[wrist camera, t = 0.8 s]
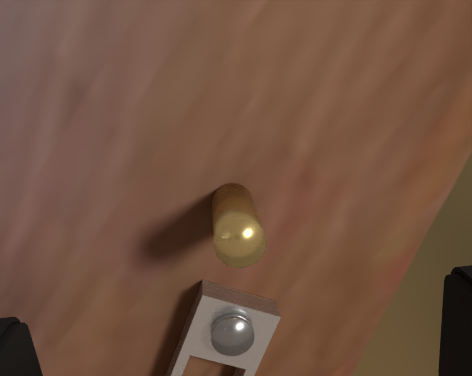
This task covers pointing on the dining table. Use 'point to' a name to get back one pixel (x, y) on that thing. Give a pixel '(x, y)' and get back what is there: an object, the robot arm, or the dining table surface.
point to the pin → (236, 227)
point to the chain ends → (226, 329)
